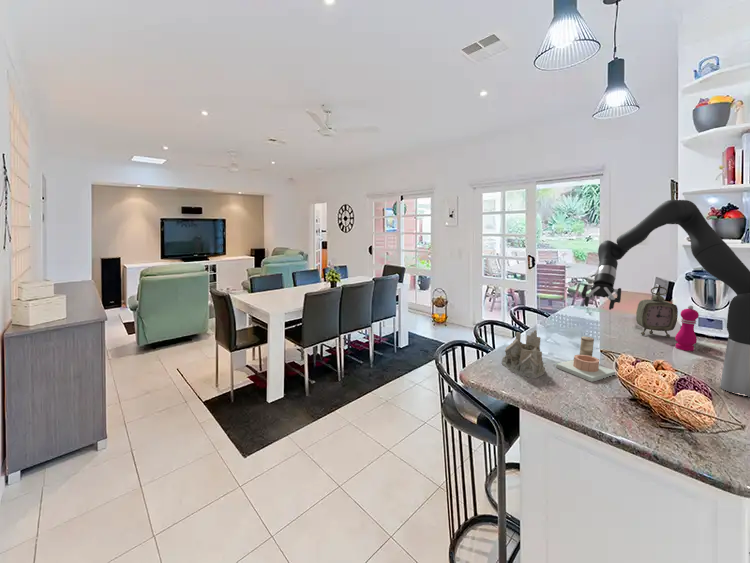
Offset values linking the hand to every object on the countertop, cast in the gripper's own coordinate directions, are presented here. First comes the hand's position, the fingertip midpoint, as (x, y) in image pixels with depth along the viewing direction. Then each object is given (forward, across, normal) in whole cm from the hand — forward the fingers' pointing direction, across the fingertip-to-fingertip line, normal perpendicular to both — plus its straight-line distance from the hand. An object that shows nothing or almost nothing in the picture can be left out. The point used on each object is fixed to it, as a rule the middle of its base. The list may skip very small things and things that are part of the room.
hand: (598, 307), depth 148 cm
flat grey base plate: (+33, +1, -5) cm, 33 cm away
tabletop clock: (-21, +19, +50) cm, 57 cm away
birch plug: (+23, -1, +6) cm, 23 cm away
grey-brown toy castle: (+42, -18, -13) cm, 48 cm away
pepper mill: (-9, +31, +37) cm, 49 cm away
